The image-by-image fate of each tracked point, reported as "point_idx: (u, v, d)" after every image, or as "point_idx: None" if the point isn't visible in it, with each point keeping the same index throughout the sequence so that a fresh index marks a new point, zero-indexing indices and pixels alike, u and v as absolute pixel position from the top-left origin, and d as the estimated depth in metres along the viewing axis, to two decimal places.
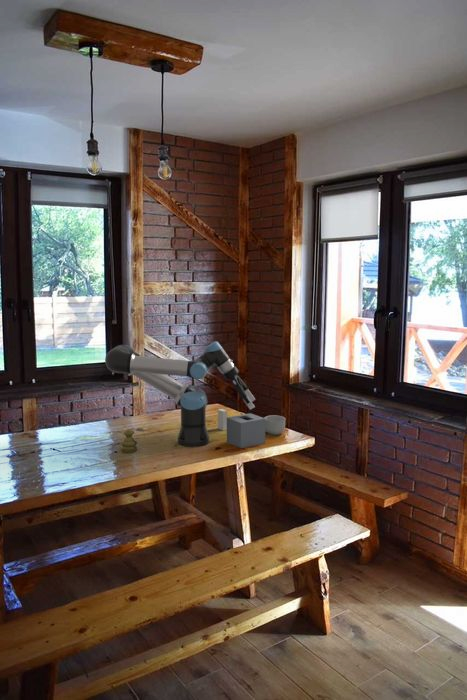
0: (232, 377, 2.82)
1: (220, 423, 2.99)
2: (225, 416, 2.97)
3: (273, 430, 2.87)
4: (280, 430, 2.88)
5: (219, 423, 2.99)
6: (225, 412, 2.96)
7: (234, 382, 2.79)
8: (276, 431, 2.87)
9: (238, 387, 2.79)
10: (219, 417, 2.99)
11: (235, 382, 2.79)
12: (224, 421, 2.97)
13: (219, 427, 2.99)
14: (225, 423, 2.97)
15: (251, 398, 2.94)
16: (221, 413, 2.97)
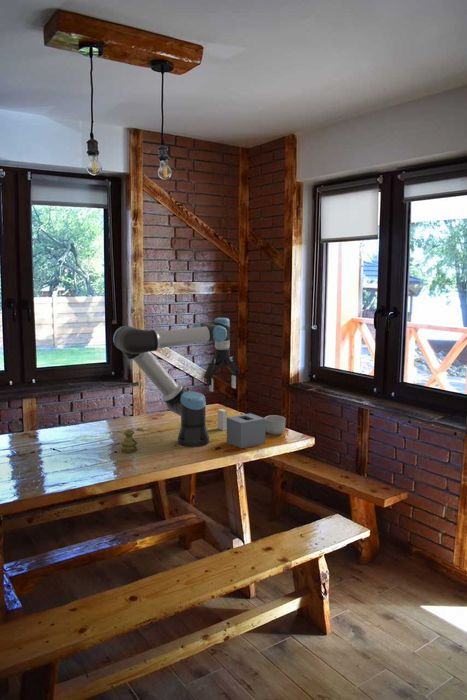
0: (216, 356, 2.92)
1: (220, 423, 2.99)
2: (225, 416, 2.97)
3: (273, 430, 2.87)
4: (280, 430, 2.88)
5: (219, 423, 2.99)
6: (225, 412, 2.96)
7: (210, 361, 2.90)
8: (276, 431, 2.87)
9: (209, 367, 2.90)
10: (219, 417, 2.99)
11: (211, 361, 2.90)
12: (224, 421, 2.97)
13: (219, 427, 2.99)
14: (225, 423, 2.97)
15: (233, 385, 3.00)
16: (221, 413, 2.97)
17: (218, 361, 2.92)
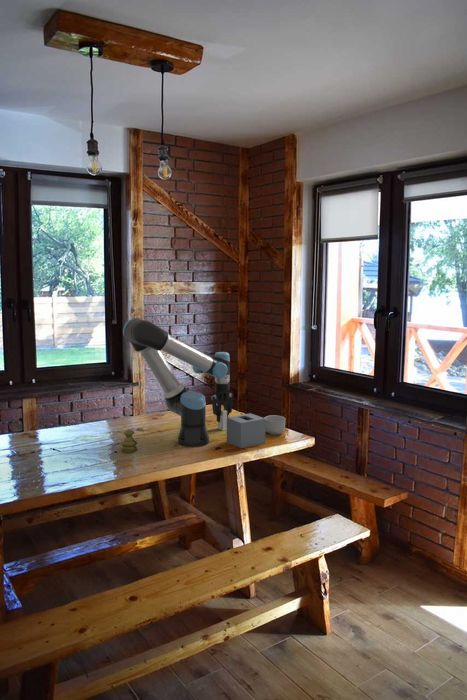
0: None
1: None
2: (225, 416, 2.97)
3: (273, 430, 2.87)
4: (280, 430, 2.88)
5: None
6: (225, 412, 2.96)
7: (212, 399, 2.94)
8: (276, 431, 2.87)
9: (213, 404, 2.94)
10: None
11: (212, 399, 2.93)
12: (224, 421, 2.97)
13: None
14: (225, 423, 2.97)
15: None
16: (221, 413, 2.97)
17: (218, 395, 2.94)
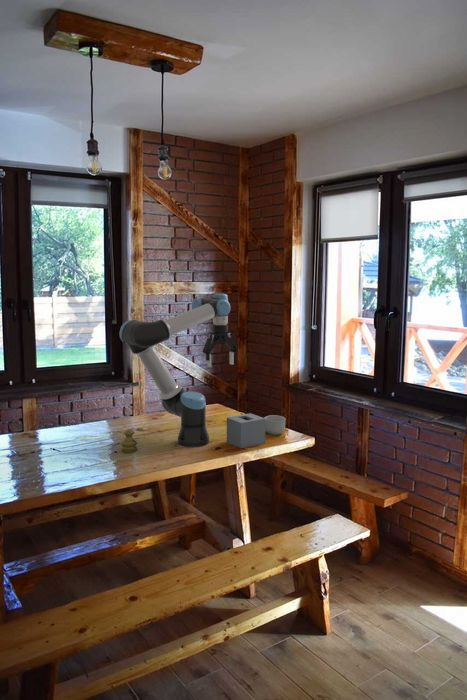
0: (214, 332, 2.93)
1: None
2: None
3: (273, 430, 2.87)
4: (280, 430, 2.88)
5: None
6: None
7: (209, 336, 2.92)
8: (276, 431, 2.87)
9: (207, 342, 2.91)
10: None
11: (209, 337, 2.91)
12: None
13: None
14: None
15: (231, 361, 3.01)
16: None
17: (216, 337, 2.93)
